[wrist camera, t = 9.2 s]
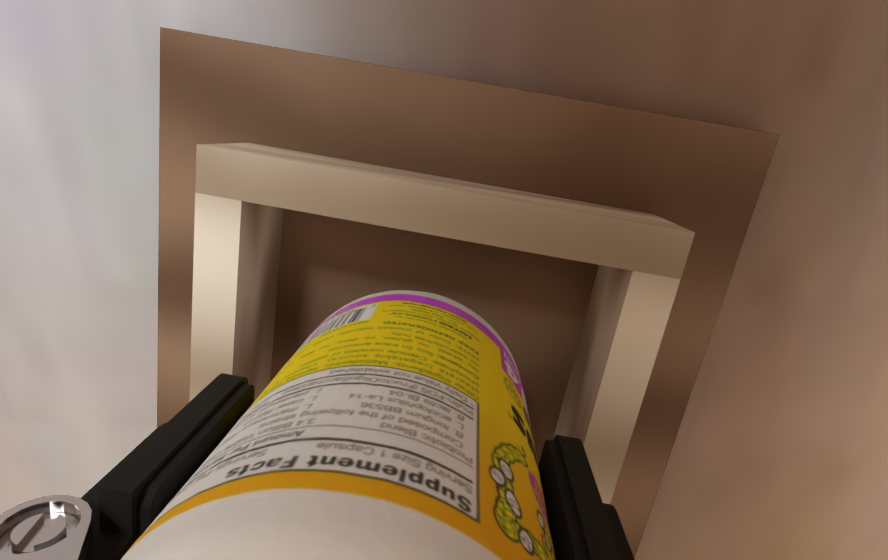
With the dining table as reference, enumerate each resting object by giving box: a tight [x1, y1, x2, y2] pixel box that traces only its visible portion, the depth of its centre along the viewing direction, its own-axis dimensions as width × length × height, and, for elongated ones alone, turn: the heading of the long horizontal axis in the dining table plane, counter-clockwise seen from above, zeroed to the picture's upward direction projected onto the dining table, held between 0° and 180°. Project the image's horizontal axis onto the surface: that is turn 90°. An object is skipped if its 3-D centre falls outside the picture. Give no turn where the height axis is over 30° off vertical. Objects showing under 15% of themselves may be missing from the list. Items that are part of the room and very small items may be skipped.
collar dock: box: [157, 27, 779, 558], centre depth 16 cm, size 18×18×4 cm
